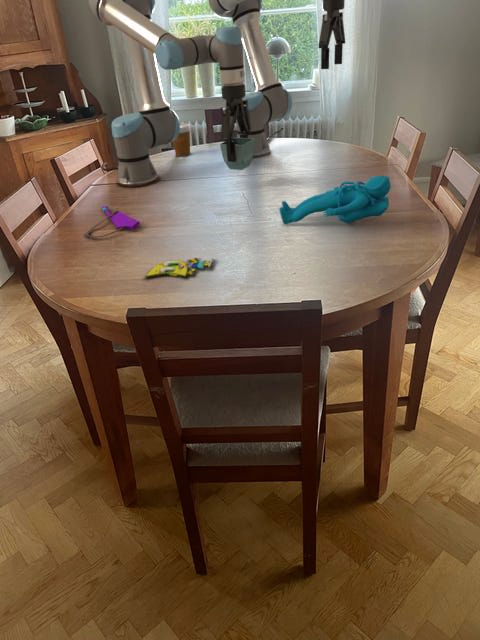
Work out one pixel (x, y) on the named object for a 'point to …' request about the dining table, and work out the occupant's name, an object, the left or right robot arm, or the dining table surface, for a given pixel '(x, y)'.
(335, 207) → the toy
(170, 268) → the toy
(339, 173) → the dining table surface
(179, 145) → the beer glass
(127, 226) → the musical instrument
